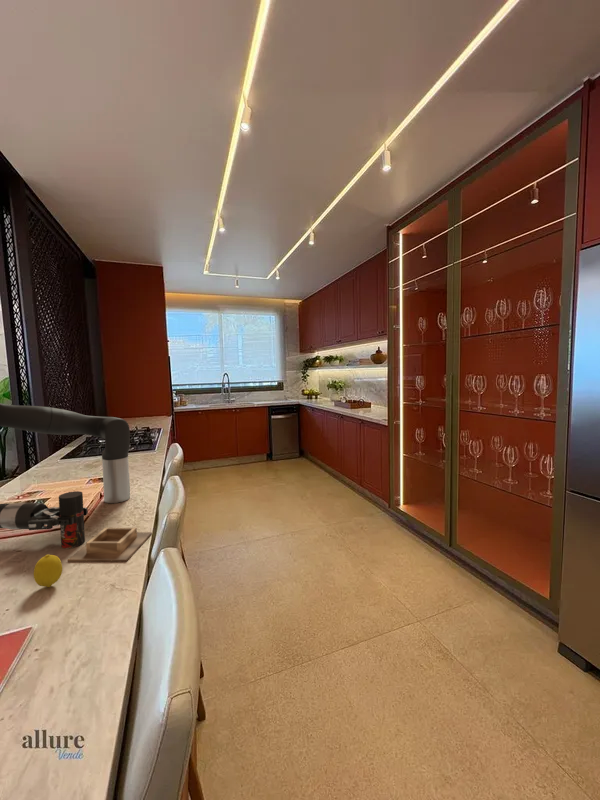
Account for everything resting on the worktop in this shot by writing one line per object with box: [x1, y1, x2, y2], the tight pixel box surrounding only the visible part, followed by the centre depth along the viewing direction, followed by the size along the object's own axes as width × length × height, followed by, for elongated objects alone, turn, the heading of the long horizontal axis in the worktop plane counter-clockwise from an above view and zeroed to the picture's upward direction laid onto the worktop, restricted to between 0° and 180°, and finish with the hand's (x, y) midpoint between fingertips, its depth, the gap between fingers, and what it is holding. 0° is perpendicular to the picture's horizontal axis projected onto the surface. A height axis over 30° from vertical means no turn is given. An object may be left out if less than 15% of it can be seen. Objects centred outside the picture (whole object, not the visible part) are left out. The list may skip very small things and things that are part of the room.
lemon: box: [33, 553, 63, 588], centre depth 82 cm, size 6×6×8 cm
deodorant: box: [58, 490, 86, 549], centre depth 103 cm, size 6×6×15 cm
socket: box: [67, 527, 153, 563], centre depth 102 cm, size 16×16×4 cm
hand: (80, 515), depth 103 cm, fingers open, 6 cm apart
